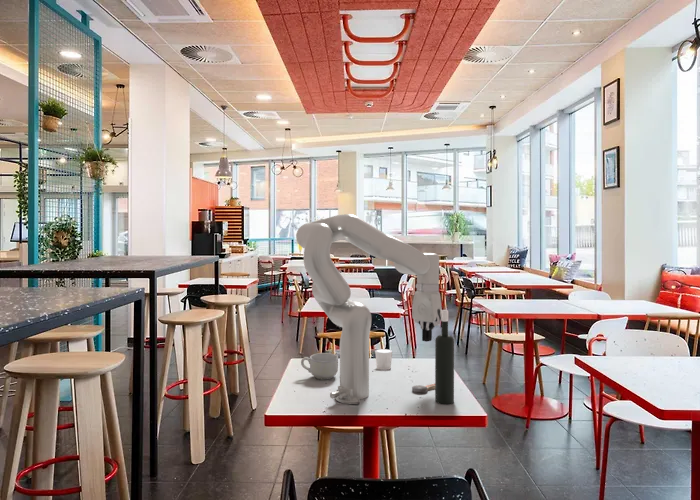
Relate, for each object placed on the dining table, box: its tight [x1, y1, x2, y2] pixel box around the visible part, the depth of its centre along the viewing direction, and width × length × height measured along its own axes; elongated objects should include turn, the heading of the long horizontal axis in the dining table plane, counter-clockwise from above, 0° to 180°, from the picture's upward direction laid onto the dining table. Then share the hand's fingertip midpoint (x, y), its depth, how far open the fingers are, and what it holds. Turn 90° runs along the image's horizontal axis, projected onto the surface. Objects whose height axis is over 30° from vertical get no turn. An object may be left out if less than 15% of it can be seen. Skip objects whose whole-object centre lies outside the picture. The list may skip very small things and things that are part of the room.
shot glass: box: [374, 348, 393, 371], centre depth 203 cm, size 7×7×7 cm
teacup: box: [300, 352, 339, 381], centre depth 190 cm, size 14×11×8 cm
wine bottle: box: [434, 309, 455, 406], centre depth 158 cm, size 6×6×30 cm
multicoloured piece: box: [411, 383, 435, 395], centre depth 171 cm, size 13×5×4 cm, turn 126°
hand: (426, 340), depth 177 cm, fingers closed
